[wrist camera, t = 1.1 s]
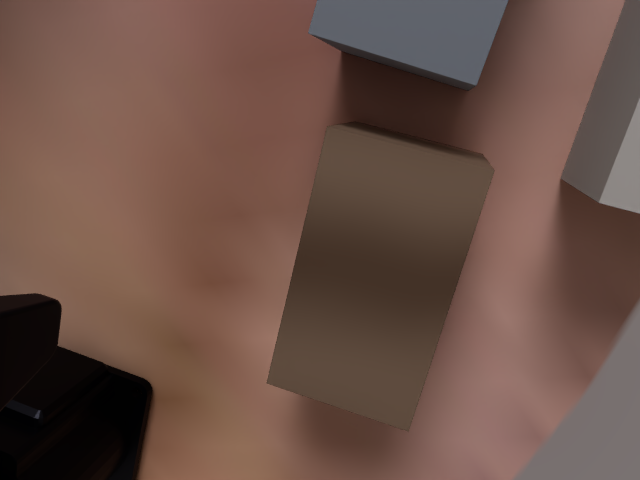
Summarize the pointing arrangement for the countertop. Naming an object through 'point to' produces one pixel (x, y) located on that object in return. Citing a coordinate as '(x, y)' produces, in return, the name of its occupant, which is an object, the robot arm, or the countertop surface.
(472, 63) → the slate brick
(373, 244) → the walnut brick
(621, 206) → the cream brick
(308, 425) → the countertop surface
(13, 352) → the robot arm
